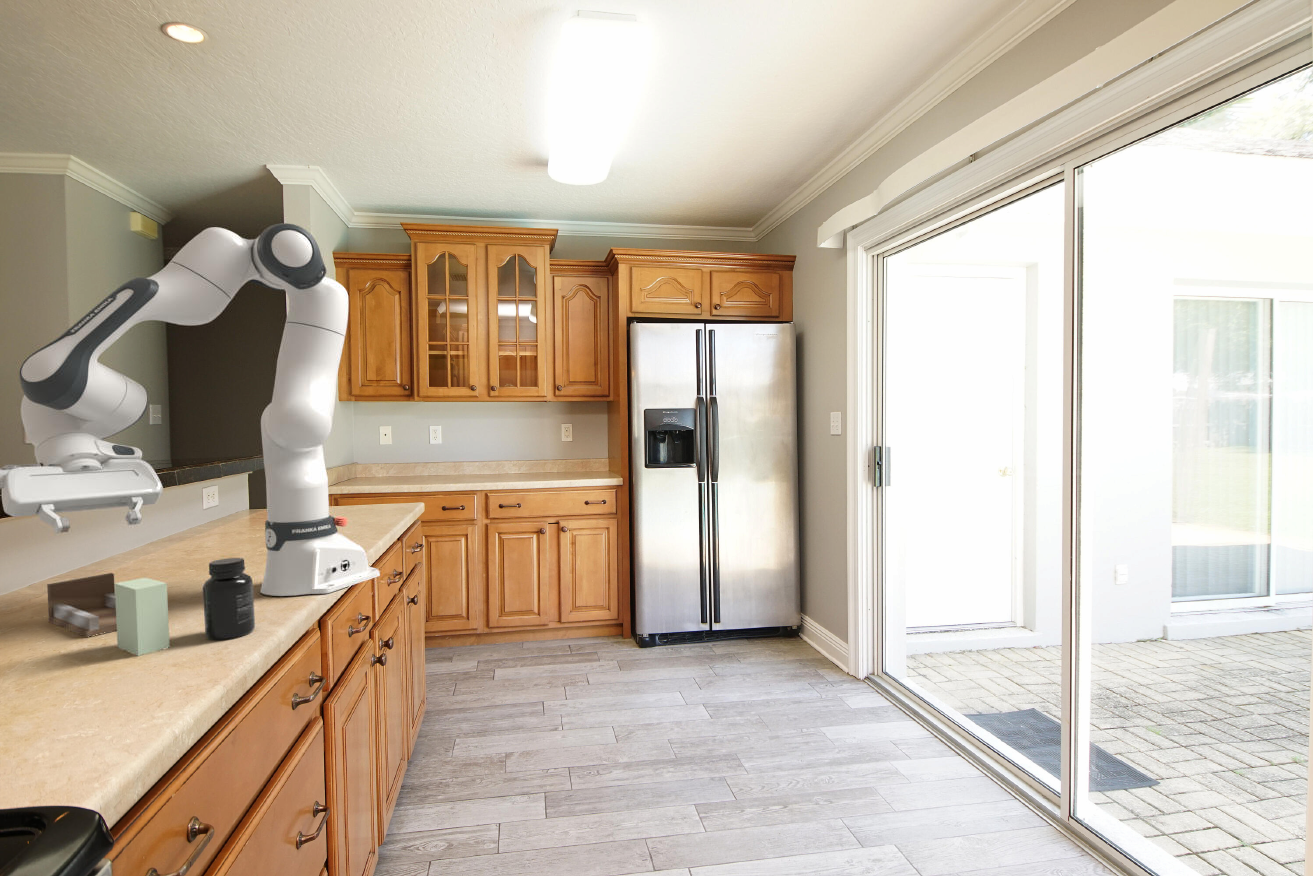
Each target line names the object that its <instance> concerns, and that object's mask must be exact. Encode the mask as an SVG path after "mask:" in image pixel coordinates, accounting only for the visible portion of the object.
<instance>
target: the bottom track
mask: <svg viewBox="0 0 1313 876" xmlns="http://www.w3.org/2000/svg"><path fill="white" fill-rule="evenodd" d="M46 588H47V590H46V591H47V607H48V611H47V612H48V622H49V623H51V622H52V624H54V625H56V626H58V625H60V626H59V627H61V626H62V627H61V628H63V627H65V628H64V629H66V628H67V629H66V630H68V629H70V630H72V631H71V632H73V631H74V632H73V633H75V632H77V633H76V634H78V633H79V634H78V635H80V634H82V635H81V636H83V635H84V636H83V637H85V636H87V637H88V636H93V635H96V634H100V633H104V632H109V633H111V632H110V631H113V632H115V631H114V630H117V621H116V600H115V574H114V573H113V572H109V573H104V574H98V575H93V576H87V577H81V578H75V579H70V580H66V581H65V580H63V581H59V582H54V583H47V584H46ZM70 630H69V631H70ZM87 637H86V638H87ZM93 637H94V636H93Z"/></svg>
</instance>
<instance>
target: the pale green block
mask: <svg viewBox="0 0 1313 876" xmlns="http://www.w3.org/2000/svg"><path fill="white" fill-rule="evenodd" d="M167 584H168V583H167V582H163V581H160V580H157V579H151V578H148V577H141V578H136V579H135V578H134V579H132V580H126V581H120V582H114V587H115V600H116V621H117V631H116V639H117V641H116V642H117V648H118V647H119V648H118V649H120V648H121V649H120V650H122V649H124V650H127V651H129V652H131V653H130V654H132V653H134V654H136V655H135V656H137V655H138V656H137V657H141V656H140V655H142V654H145V655H147V654H146V653H149V654H151V653H150V652H152V653H154V652H153V651H156V650H160V649H163V650H165V649H164V648H167V647H169V648H170V633H169V632H170V631H169V630H170V628H169V607H168V604H169V603H168V585H167ZM167 649H168V648H167ZM124 650H123V651H124ZM127 651H126V652H127ZM160 651H161V650H160ZM129 652H128V653H129ZM156 652H157V651H156ZM134 654H133V655H134ZM142 656H143V655H142Z"/></svg>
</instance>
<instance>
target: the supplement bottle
mask: <svg viewBox="0 0 1313 876" xmlns="http://www.w3.org/2000/svg"><path fill="white" fill-rule="evenodd" d="M208 570H209V571H208V575H210V578H208V579H207V580H206V581H205V582H204V583H203V584H202V597H203V598H202V599H203V600H202V602H203V615H204V616H203V618H204V620H203V621H204V631H205V634H204V635H205V636H206V638H208V639H209V640H212V641H224V640H231V639H232V640H233V639H235V638H236V639H237V638H239V637H243V636H246V635H249V634H250V633H252V632H253V631H254V629H255V628H256V625H255V622H256V620H255V619H256V616H255V601H254V599H255V598H254V584H253V579H252V577H251V575H250V574H247V573H245V572H244V571H245V570H246V567H245V559H244V558H243V557H229V558H222V559H221V558H220V559H215V560H213V561H211V562H209V563H208Z"/></svg>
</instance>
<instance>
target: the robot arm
mask: <svg viewBox="0 0 1313 876" xmlns="http://www.w3.org/2000/svg"><path fill="white" fill-rule="evenodd" d="M319 247H320V246H319V245H318V243H317V241H316V239H315V238H314V236H313V235H312V234H311V233H310V232H309V231H308V230H307V229H305V228H304V227H301V226H299V225H297V224H293V223H288V222H287V223H277V224H272V225H270V226H268V227H267V228H265V229H264V230H263V231H262V232H261V234H259V235H258V237H256V238H255V239H253V238H252V239H247V238H244V237H242V236H239V234H237V233H235V232H233V231H231V230H228V229H226V228H223V227H217V226H215V227H214V226H213V227H208V228H206V229H204V230H202V231H201V232H200V233H198V234H197V235H195V236H194V237H193V238H192V239H191V240H189V241H188V242H187V243H186V244H185V245H184V246H182V248H181V249H180V250H179V251H178V252H177V253H176V254H175V255H174V256H173V258H172V259H170V261H169V262H168V264H167V265H165V267H163V268H162V269H161V270H160V271H158V272H157V273H154V274H152V275H151V276H149V277H137V278H136V277H135V278H132V279H130V280H128V281H127V282H125V283H123V284H122V285H120V286H118V287H117V288H116V289H115V290H114V291H112V292H111V293H110V294H108V296H106V297H105V298H103V300H102V301H100V302H99V303H98V304H97V305H96V306H94V307H93V308H91V309H90V311H89V312H86V314H85V315H84V316H82V317H81V318H79V319H78V321H76V322H75V323H74V324H73V325H72V326H70V327H69V328H68V329H67V330H66V331H64V332H63V333H62V334H61V335H60V336H59V337H57V338H55V340H53V341H51V342H49V343H48V344H46V345H44V346H42V347H41V348H40V349H37V350H35V351H34V352H33V353H32V354H30V355H29V356H28V357H27V358H26V359H25V360H24V362H23V363H22V365H21V366H20V369H19V375H18V377H19V378H18V379H19V384H20V386H21V389H22V392H23V394H24V395H23V397H22V400H21V404H20V417H21V421H22V425H23V428H24V430H25V434H26V436H27V439H28V441H29V442H30V443H31V444H32V445H33V446H34V454H33V455H34V457H35V460H36V462H37V463H27V464H26V463H25V464H7V465H3V467H0V488H1V503H2V507H3V511H4V513H5V514H7V515H9V516H10V517H13V518H17V517H27V516H28V517H29V516H38V518H39V519H40V520H41V521H43V522H45V523H46V524H47V525H49V526H52V528H53V529H52V530H53V531H54V533H55V534H61V533H69V530H70V529H71V524H70V522H69V518H68V517H67V516H66V517H61V516H59V515H58V514H60V513H61V514H62V513H73V512H82V511H92V510H102V509H104V510H106V509H113V508H126V507H128V510H129V511H128V512H127V514H126V515H125V521H126V522H127V525H128V526H133V525H139V524H140V523H141V521H142V514H141V512H140V510H141V507H142V506H149V505H154V504H156V503H157V502H158V501H159V499H160V498H161V496H162V493H163V490H164V487H163V484H162V482H161V480H160V478H159V476H158V474H157V472H156V471H155V469H154V468H153V466H151V464H150V463H148V462H147V461H145V460H143V459H142V458H143V452H142V450H141V449H140V448H138V447H135V446H131V445H130V446H129V445H122V444H117V443H113V442H109V441H105V440H104V439H107V438H110V437H113V436H115V435H117V434H119V433H121V432H123V431H125V430H127V429H129V428H131V427H133V426H134V425H136V424H138V423H139V422H140V421H141V420H142V419H143V418H144V416H145V415H146V413H147V410H148V406H149V395H148V391H147V389H146V388H145V387H144V386H143V385H142V384H140V383H139V382H137V381H135V380H134V379H132V378H130V377H128V376H127V375H124V374H123V373H121V372H118V371H116V370H114V369H112V368H109V367H108V366H107V365H104V364H102V363H101V362H99V361H98V359H99V357H100V355H102V354H103V353H104V352H105V351H106V350H108V348H109V347H111V346H112V344H114V343H115V342H116V341H117V340H118V339H120V338H121V336H123V335H124V334H125V333H126V332H127V331H128V330H130V329H131V328H132V327H133V326H135V325H137V324H140V323H141V322H146V321H160V322H166V323H170V324H176V325H180V326H200V325H205V324H208V323H211V322H212V321H213V320H215V319H216V318H217V317H218V316H220V315H221V314H222V312H223V311H224V310H225V309H226V308H227V306H228V305H229V303H230V302H231V301H232V300H233V299H234V297H235V295H236V294H237V293H238V292H239V290H240V289H241V288H242V287H243V286H244V285H245V284H246V283H247V282H248V283H251V284H254V285H257V286H261V287H264V288H266V289H268V290H273V291H278V292H286V294H287V297H288V312H287V315H286V316H287V317H286V318H285V320H286V321H285V325H284V329H283V332H282V337H281V343H280V347H279V352H278V357H277V361H276V369H275V370H276V373H275V379H274V384H273V385H274V386H273V392H272V398H271V402H270V403H269V404H268V405H267V406H266V407H265V408H264V411H263V412H262V415H261V418H260V429H261V431H260V433H261V443H262V455H263V467H264V473H265V475H264V476H265V482H266V483H265V488H266V514H267V516H266V517H267V519H266V521H265V522H264V523H265V524H264V534H265V535H264V536H265V537H264V538H265V539H264V540H265V545H266V547H265V548H266V549H267V550H266V551H267V552H266V562H265V569H264V575H263V580H262V584H261V586H260V591H259V592H260V593H262V595H267V596H274V597H275V596H277V597H285V596H289V597H290V596H301V595H311V594H312V595H317V594H318V595H321V594H329V593H333V592H336V591H338V590H343V589H344V588H347V587H350V586H354V585H356V584H359V583H362V582H365V581H368V580H372V579H374V578H377V577H380V575H381V574H380V570H379V569H378V568H375V567H372V566H369V561H368V555H367V553H366V551H365V549H364V548H363V547H362V545H359V544H358V543H356V542H354V541H352V540H351V539H349V538H348V537H346V536H345V535H343V534H342V533H340V532H338V528H337V527H342V528H344V527H346V526H347V524H348V523H349V520H348V518H347V517H346V516H345V517H344V516H343V517H342V516H337V517H334V516H332V515H330V507H329V506H330V503H329V477H328V473H327V468H326V463H325V462H326V461H325V455H324V447H323V444H324V443H325V442H326V441H327V440H328V438H329V437H330V434H331V432H332V427H333V420H334V419H333V418H334V412H335V405H336V396H337V395H336V394H337V381H338V373H339V367H340V364H341V358H342V354H343V349H344V343H345V338H346V333H347V330H348V329H347V328H348V322H349V321H348V320H349V307H350V306H349V305H350V304H349V295H348V291H347V289H346V288H345V287H344V286H343V285H342V284H341V283H339V281H336V280H335V279H332V278H330V277H327V276H326V274H327V268H326V265H325V262H324V260H323V257H322V253H321V249H320V248H319Z"/></svg>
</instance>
